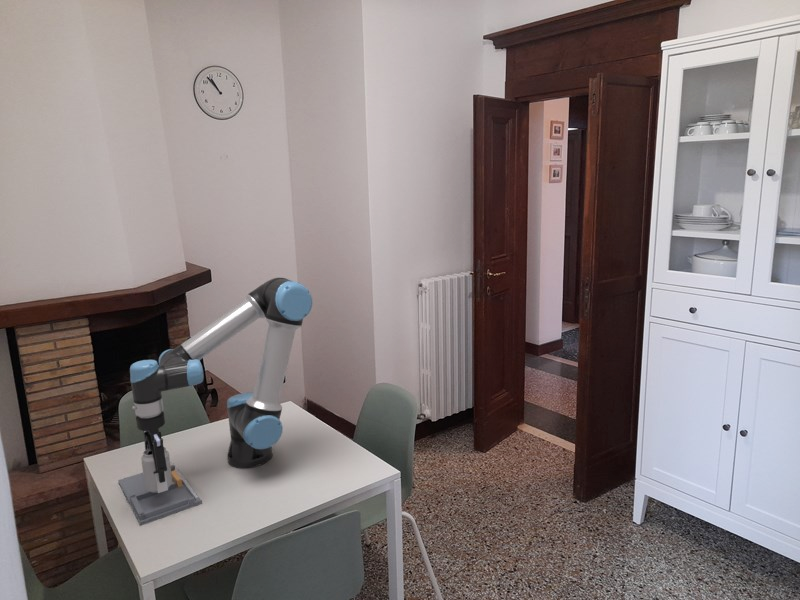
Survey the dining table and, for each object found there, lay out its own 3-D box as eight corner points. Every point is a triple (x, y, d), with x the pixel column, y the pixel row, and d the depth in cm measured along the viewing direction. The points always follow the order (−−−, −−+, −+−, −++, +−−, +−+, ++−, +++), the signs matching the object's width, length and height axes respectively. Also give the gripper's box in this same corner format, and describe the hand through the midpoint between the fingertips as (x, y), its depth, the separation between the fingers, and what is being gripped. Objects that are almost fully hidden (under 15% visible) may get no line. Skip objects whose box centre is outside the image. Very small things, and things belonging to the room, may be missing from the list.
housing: (202, 503, 170) (201, 496, 170) (140, 525, 160) (139, 517, 160) (173, 465, 195) (172, 459, 194) (118, 482, 185) (117, 475, 184)
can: (150, 482, 173) (145, 445, 171) (175, 480, 174) (171, 443, 171) (141, 495, 166) (136, 457, 163) (168, 493, 166) (163, 455, 164)
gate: (183, 485, 179) (182, 475, 178) (176, 487, 178) (175, 478, 177) (168, 465, 193) (167, 456, 192) (162, 467, 191) (161, 458, 191)
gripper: (128, 406, 171) (137, 476, 175) (144, 428, 155) (154, 504, 159) (154, 400, 175) (163, 468, 180) (172, 420, 159) (182, 495, 164)
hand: (159, 485), depth 169 cm, fingers closed on can, 7 cm apart
